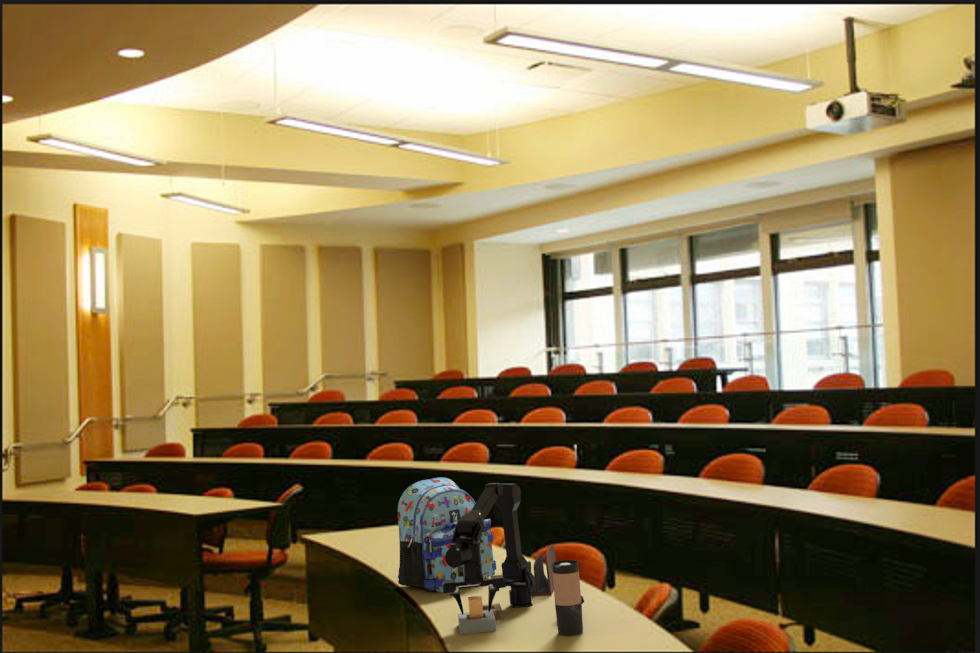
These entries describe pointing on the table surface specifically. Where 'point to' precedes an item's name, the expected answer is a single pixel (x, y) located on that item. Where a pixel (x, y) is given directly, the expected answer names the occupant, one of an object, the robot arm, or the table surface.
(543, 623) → the table surface
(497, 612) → the mount
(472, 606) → the peg
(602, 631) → the table surface
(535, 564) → the letter holder
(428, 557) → the backpack
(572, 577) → the travel mug
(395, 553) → the table surface
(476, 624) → the socket
